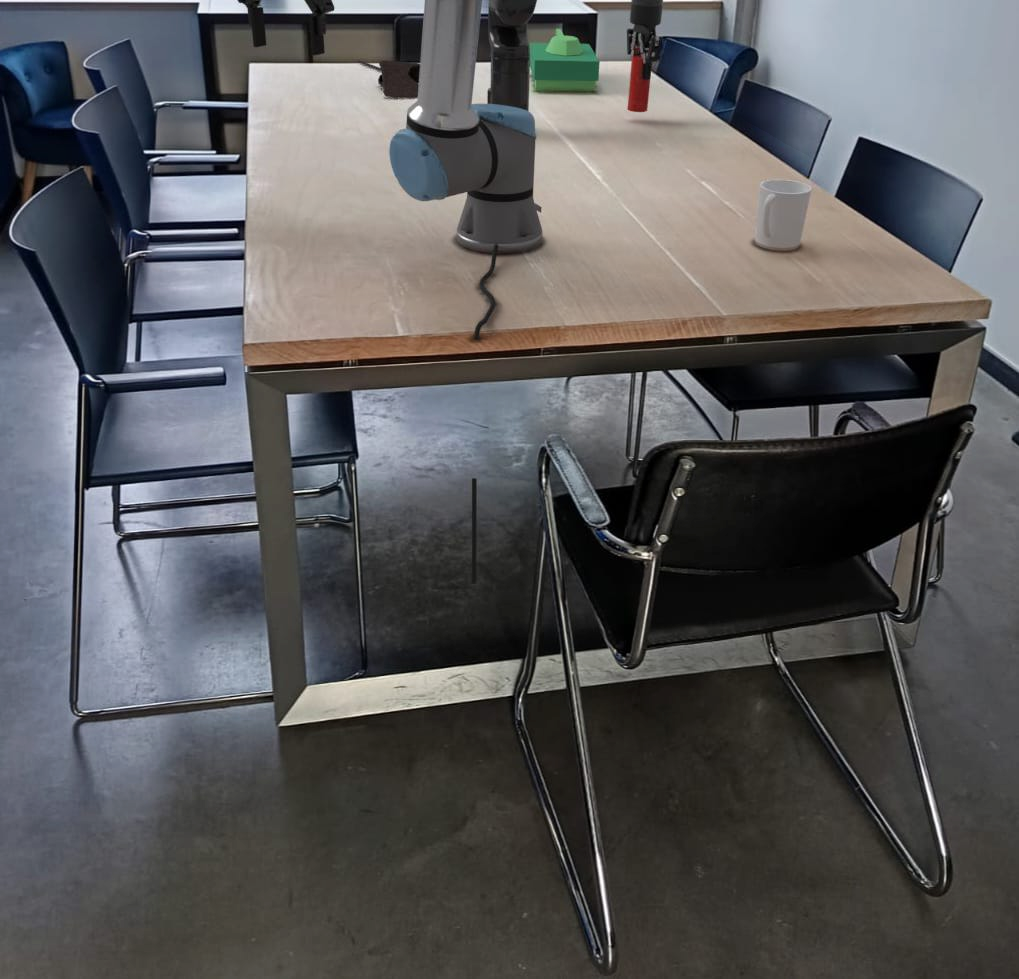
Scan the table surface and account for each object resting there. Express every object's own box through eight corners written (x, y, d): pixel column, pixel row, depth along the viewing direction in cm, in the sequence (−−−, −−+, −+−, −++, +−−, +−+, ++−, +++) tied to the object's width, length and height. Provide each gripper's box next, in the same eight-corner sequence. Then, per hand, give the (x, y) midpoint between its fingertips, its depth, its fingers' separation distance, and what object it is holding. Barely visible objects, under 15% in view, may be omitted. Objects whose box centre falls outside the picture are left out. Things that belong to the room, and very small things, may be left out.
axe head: (443, 87, 294) (392, 77, 287) (436, 115, 299) (385, 106, 292) (421, 62, 307) (371, 52, 300) (414, 89, 311) (365, 80, 304)
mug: (766, 232, 202) (774, 176, 197) (810, 242, 198) (820, 186, 192) (737, 246, 195) (744, 189, 190) (782, 258, 190) (791, 199, 185)
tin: (645, 108, 276) (650, 55, 270) (648, 112, 272) (653, 59, 266) (626, 107, 276) (630, 55, 270) (628, 111, 272) (633, 58, 265)
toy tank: (586, 25, 325) (600, 46, 295) (584, 69, 332) (597, 94, 302) (527, 24, 324) (535, 45, 294) (526, 68, 331) (533, 93, 301)
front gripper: (349, -78, 186) (356, 54, 197) (237, -86, 197) (250, 40, 208) (322, -75, 181) (330, 60, 192) (208, -84, 191) (222, 45, 202)
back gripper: (675, 6, 257) (667, 82, 266) (646, -2, 268) (640, 71, 277) (647, 7, 254) (640, 83, 263) (619, -2, 266) (613, 72, 274)
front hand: (288, 50), depth 200 cm, fingers open, 13 cm apart
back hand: (640, 76), depth 270 cm, fingers closed on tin, 5 cm apart
